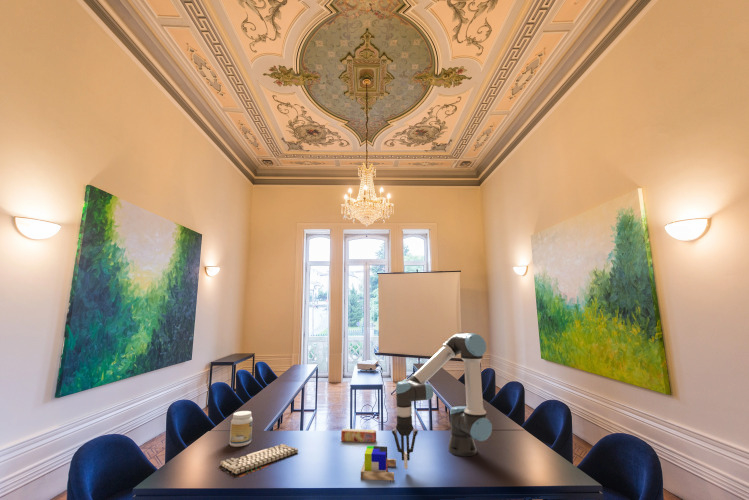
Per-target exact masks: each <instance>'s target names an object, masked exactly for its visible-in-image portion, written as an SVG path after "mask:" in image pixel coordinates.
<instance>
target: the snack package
mask: <svg viewBox="0 0 749 500" xmlns="http://www.w3.org/2000/svg"><path fill="white" fill-rule="evenodd" d="M340 434H341V435H340V440H341V442H343V443H344V442H348V443H349V442H351V443H370V442H371V443H373V444H376V442H377V441H376V440H377V431H376V430H375V429H364V428H363V429H359V428H345V427H344V428H342V429H341V432H340ZM371 443H370V444H371Z"/></svg>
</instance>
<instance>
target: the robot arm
mask: <svg viewBox="0 0 749 500" xmlns="http://www.w3.org/2000/svg"><path fill="white" fill-rule="evenodd" d="M486 350H487V344H486V341H485V339H484V337H482V335H480V334H477V333H474V332H473V333H472V332H457V333H455V334H454V335H451V336H450V337H449V338H448V339H447V340H445V342H444V343H442V345H441V348H440V349H439V350H438V351H437V352H435V354H434V355H432V356H431V358H429V359H428V360H427V361H426V362H425V363H424V364H423V365H422V366H421V367H420V368H419V369H418V370H417V371H415V373H414V374H412V375H411V376H410V377H409V378H405V379H403V380H401V381H398V382H396V385H395V398H396V399H395V400H396V401H395V402H396V405H395V406H396V426H395V428H392V430H391V433H392V435H393V436H394V437H393V438H394V441H395V445H396V450H397V452H398V453H401V461H403V463H404V464H403V466H404V470H408V467H409V466H408V461H410V459H411V457H410V455H411V454H410V453H413V451H414V447H415V442H416V437H417V435H418V434H419V433H418V431H419V430H418V429H416V428H415V427H414V425H413V416H412V413H413V412H412V409H413V408H412V406H413V405H412V403H413V402H419V401H420V402H421V401H427V400H432V399H433V398H434V389H433V386H432V385H431V384H429V383H427V382H428V380H430V379H431V378H432V377H433V376H434V375H435V374H436V373H437V372H438V371H439V370H440V369H441V368H442V367H444V365H445V364H447V362H448V361H449V360H451V359H452V358H453V359H454V358H455V357H457V356H458V355H460V359H461V360H462V361H463V366H464V368H463V369H464V385H465V386H464V387H465V401H466V402H465V404H466V406H465V405H462V406H460V405H459V406H452V407H451V408H450V409H449V417H450V420H449V422H450V439H449V442H448V452H449V453H451V454H452V455H455V456H459V457H472V456H475V455H476V454H477V446H476V444H475V441H478V442H484V441H486V440H488V439H489V437H490V436H491V434H492V432H493V425H492V423H491V421H490V419H489V418H488V417H487V416H488V415H487V411H486V409H485V408H484V403H483V402H484V400H483V386H482V385H483V383H482V369H481V361H482V360H483V357H484V356H483V355H484V354H485V353H486ZM398 433H399V435H400V443H399V438H398ZM411 434H412V439H411V444H410V435H411ZM404 436H405V438H404ZM404 439H405V440H406V441H405V440H404ZM405 442H406V451H405ZM400 445H401V446H400Z"/></svg>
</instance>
